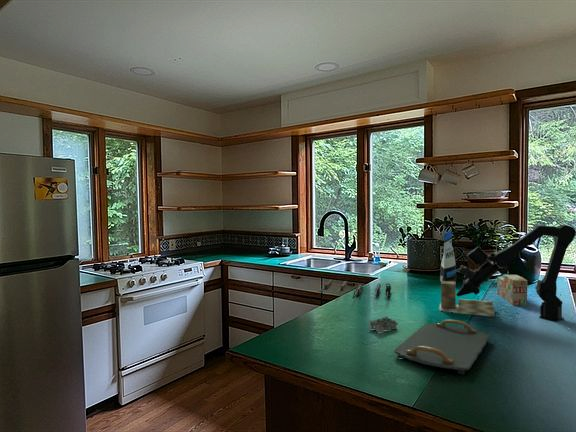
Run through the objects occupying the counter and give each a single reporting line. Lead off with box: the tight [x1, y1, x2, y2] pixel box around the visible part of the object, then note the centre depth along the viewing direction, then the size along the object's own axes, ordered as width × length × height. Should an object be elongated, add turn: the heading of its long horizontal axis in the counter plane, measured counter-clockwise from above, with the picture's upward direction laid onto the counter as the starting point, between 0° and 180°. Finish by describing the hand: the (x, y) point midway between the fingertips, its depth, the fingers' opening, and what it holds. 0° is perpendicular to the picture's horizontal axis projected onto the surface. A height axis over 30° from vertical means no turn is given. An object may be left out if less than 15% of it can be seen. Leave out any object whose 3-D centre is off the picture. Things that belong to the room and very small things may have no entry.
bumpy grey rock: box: [368, 316, 399, 333], centre depth 147 cm, size 11×8×4 cm
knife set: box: [318, 279, 392, 300], centre depth 198 cm, size 35×33×8 cm
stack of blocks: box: [496, 274, 528, 307], centre depth 184 cm, size 21×6×12 cm, turn 168°
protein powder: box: [439, 229, 458, 283], centre depth 229 cm, size 10×24×30 cm, turn 147°
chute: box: [438, 298, 496, 317], centre depth 168 cm, size 22×10×4 cm, turn 66°
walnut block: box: [440, 281, 457, 309], centre depth 171 cm, size 6×6×11 cm
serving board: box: [393, 319, 491, 376], centre depth 126 cm, size 39×23×6 cm, turn 142°
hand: (457, 295), depth 170 cm, fingers closed
